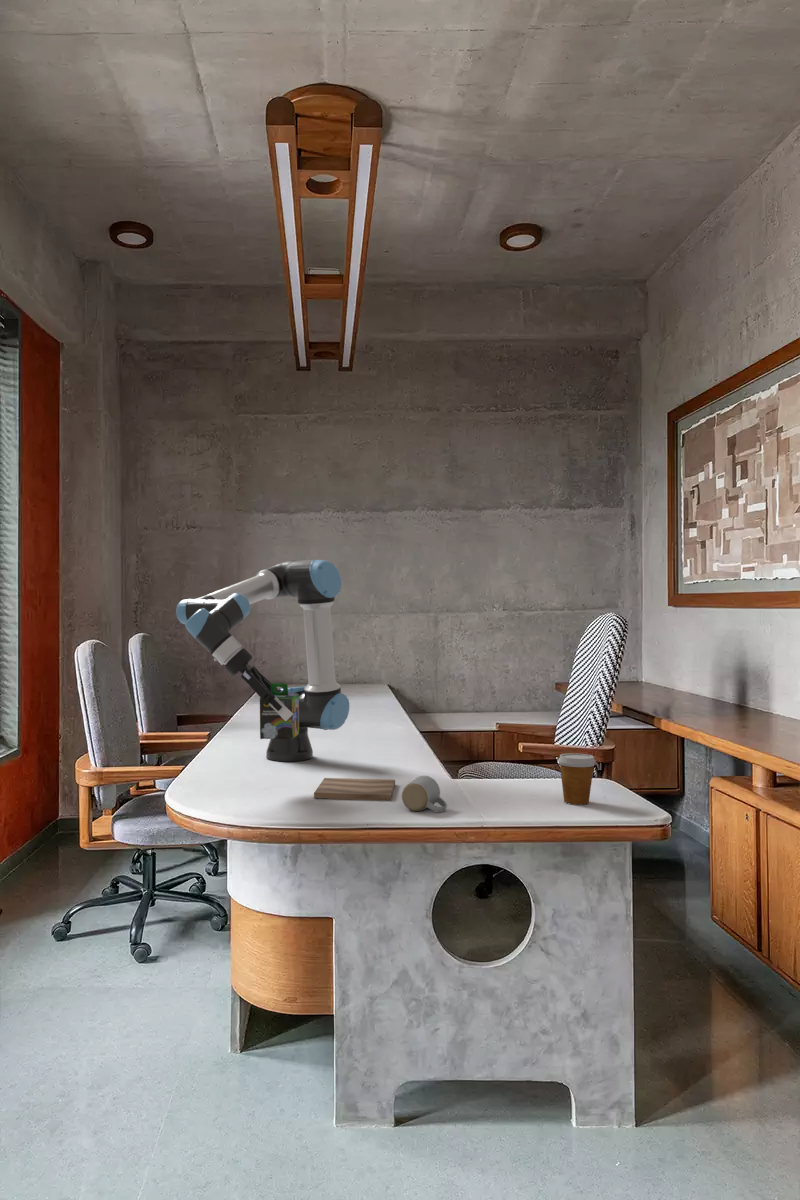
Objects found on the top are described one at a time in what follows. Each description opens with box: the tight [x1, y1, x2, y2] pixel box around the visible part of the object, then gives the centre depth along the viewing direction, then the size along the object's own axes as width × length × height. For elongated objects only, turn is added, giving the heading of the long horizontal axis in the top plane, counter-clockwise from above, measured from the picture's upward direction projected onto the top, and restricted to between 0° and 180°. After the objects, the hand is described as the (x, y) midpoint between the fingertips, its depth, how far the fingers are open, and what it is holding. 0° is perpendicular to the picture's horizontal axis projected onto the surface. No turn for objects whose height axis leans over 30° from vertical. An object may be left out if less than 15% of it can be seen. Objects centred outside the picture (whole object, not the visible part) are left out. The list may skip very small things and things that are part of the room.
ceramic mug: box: [401, 775, 448, 813], centre depth 221 cm, size 11×8×8 cm
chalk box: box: [259, 682, 299, 740], centre depth 242 cm, size 9×9×15 cm
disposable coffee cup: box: [557, 752, 596, 805], centre depth 231 cm, size 10×10×12 cm
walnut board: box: [313, 777, 396, 801], centre depth 241 cm, size 20×20×2 cm
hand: (291, 715), depth 242 cm, fingers closed on chalk box, 10 cm apart
